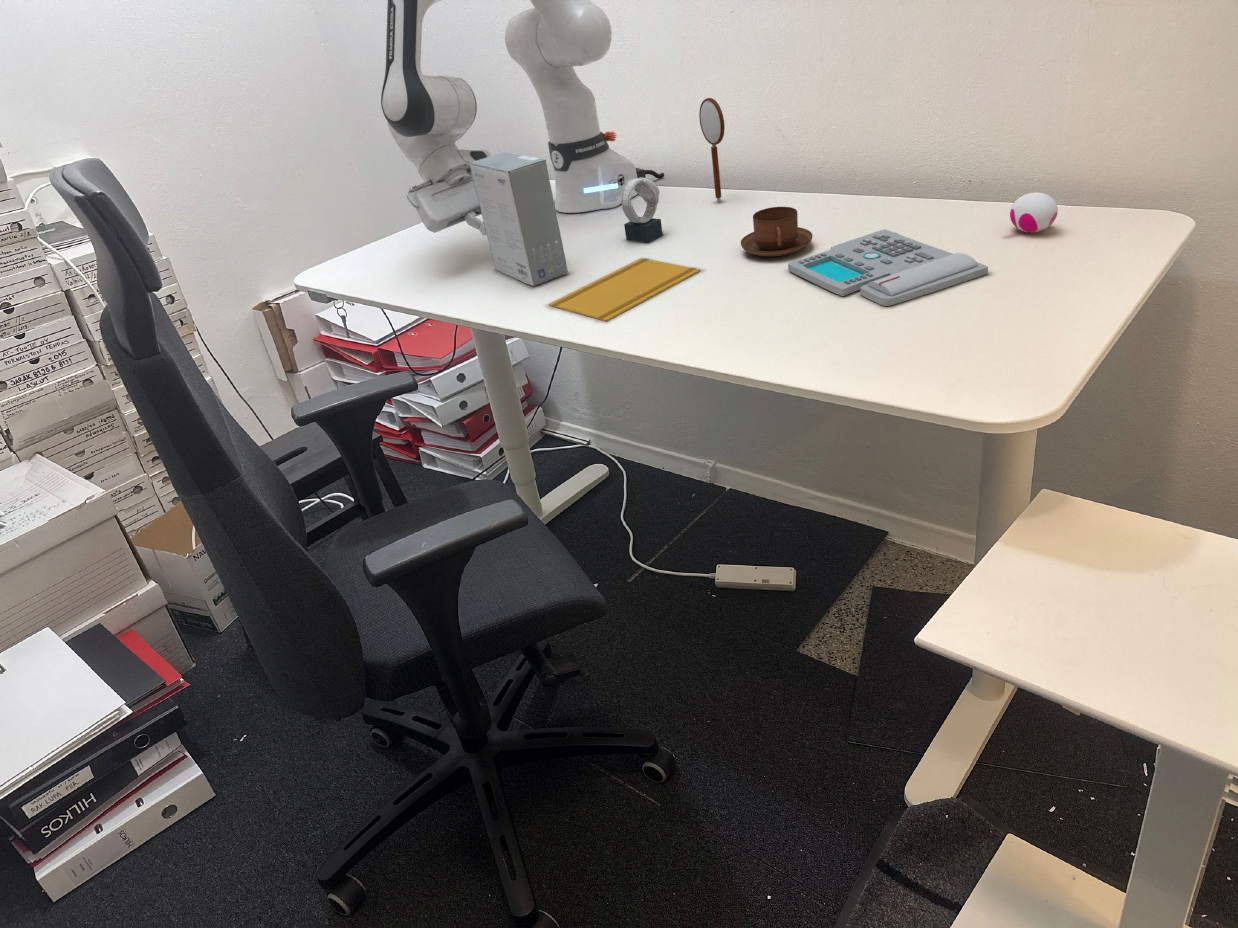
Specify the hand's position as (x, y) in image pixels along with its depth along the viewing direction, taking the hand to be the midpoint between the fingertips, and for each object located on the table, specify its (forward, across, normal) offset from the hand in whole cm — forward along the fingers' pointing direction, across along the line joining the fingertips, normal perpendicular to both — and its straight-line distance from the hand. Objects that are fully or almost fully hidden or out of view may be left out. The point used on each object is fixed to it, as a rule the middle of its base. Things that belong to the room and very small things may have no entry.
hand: (491, 231), depth 153 cm
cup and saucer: (+37, +26, -28) cm, 53 cm away
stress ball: (+60, +47, -51) cm, 92 cm away
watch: (+17, +22, -8) cm, 29 cm away
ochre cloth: (+28, +2, -18) cm, 33 cm away
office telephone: (+52, +24, -42) cm, 71 cm away
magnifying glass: (+17, +44, -8) cm, 48 cm away
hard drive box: (+12, 0, -2) cm, 12 cm away
